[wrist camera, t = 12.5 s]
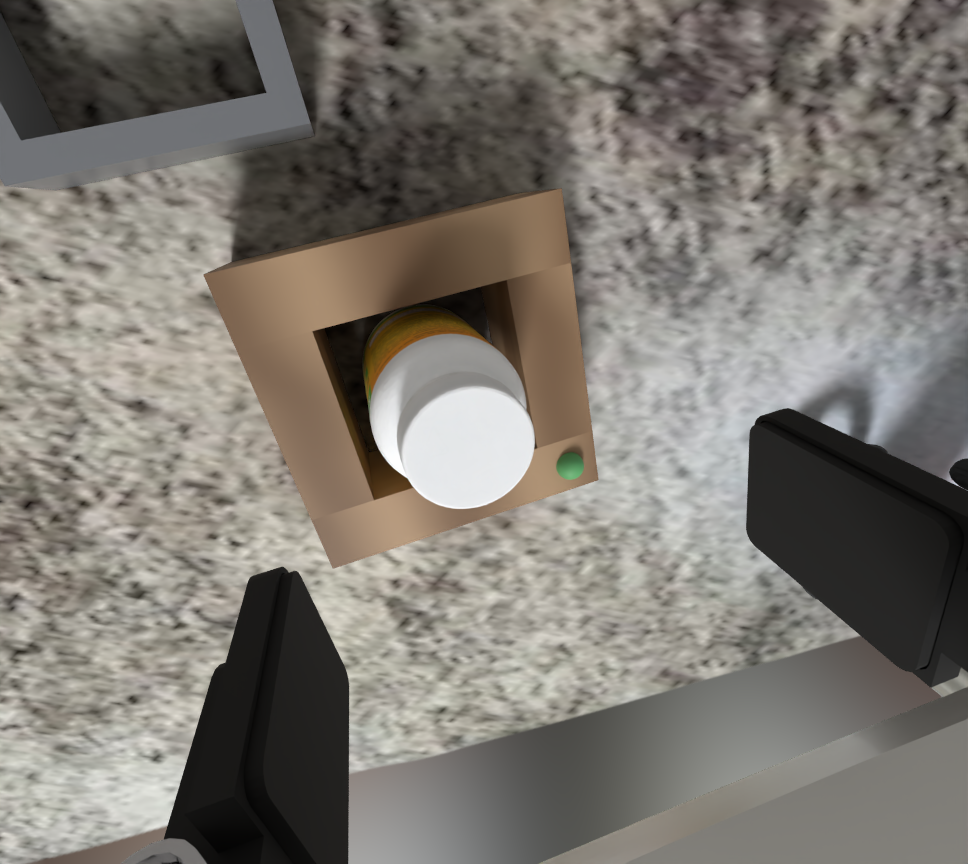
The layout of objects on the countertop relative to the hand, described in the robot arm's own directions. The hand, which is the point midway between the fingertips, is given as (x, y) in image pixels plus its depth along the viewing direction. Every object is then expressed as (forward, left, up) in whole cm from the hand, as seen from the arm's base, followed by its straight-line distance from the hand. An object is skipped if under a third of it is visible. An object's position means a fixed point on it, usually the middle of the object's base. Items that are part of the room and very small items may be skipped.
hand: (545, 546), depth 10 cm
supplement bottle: (0, 0, -15) cm, 15 cm away
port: (+1, 0, -15) cm, 15 cm away
